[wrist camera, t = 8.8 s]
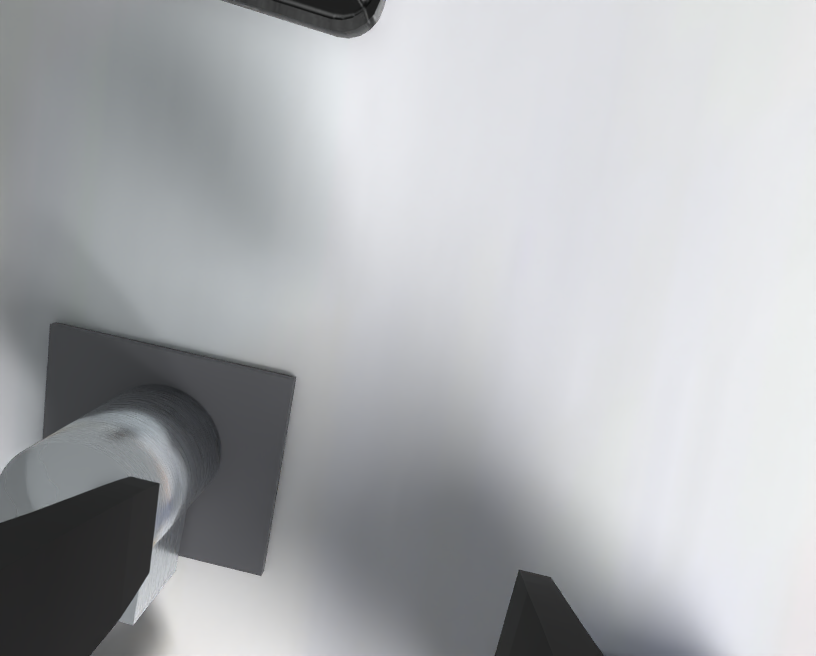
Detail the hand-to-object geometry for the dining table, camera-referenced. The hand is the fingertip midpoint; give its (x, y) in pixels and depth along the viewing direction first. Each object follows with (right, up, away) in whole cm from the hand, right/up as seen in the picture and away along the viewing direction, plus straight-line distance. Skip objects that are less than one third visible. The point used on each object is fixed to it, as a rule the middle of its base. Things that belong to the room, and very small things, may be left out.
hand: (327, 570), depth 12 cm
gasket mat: (-8, 0, +11) cm, 13 cm away
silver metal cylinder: (-8, -1, +11) cm, 13 cm away
